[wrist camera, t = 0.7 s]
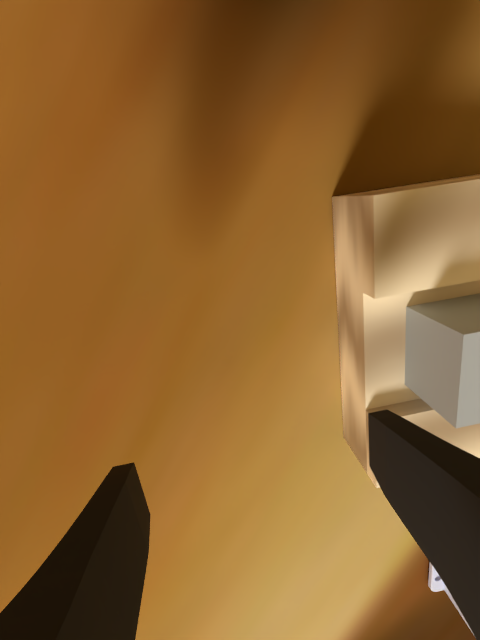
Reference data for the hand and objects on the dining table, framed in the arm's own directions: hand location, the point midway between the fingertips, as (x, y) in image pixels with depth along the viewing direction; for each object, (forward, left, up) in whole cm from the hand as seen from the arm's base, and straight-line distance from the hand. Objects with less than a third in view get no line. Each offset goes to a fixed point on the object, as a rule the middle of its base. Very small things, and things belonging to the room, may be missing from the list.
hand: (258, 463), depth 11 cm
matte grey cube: (0, -10, -5) cm, 11 cm away
